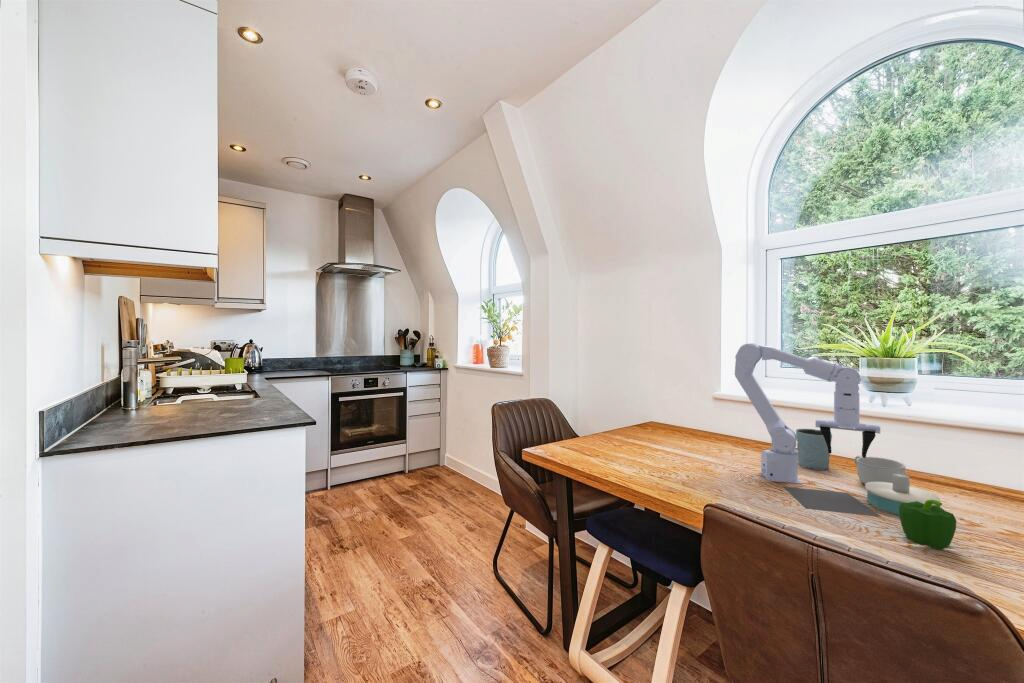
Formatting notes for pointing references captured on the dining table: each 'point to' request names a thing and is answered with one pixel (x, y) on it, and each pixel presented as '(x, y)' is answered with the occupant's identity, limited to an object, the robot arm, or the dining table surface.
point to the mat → (830, 501)
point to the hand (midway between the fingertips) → (846, 454)
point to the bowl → (883, 503)
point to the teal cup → (812, 449)
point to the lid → (900, 490)
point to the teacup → (878, 469)
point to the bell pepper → (927, 523)
